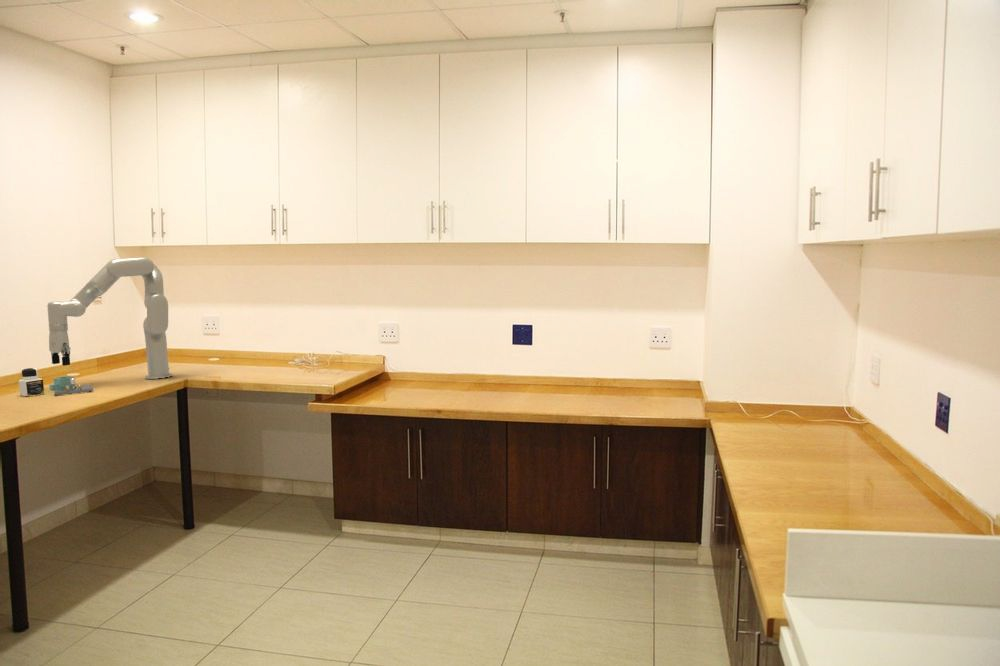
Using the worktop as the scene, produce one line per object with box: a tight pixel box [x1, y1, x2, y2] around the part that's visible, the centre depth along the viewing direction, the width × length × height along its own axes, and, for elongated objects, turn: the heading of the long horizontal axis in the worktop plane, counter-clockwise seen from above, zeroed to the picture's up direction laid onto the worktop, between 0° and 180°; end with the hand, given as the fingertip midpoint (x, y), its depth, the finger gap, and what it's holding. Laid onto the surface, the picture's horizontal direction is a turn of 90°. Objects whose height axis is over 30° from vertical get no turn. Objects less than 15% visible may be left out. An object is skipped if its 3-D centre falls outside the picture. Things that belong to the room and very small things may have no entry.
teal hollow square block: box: [49, 375, 75, 391], centre depth 341 cm, size 9×6×5 cm
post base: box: [53, 377, 94, 396], centre depth 332 cm, size 15×15×6 cm
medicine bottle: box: [18, 367, 45, 397], centre depth 326 cm, size 7×7×12 cm
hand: (61, 364), depth 341 cm, fingers open, 9 cm apart
